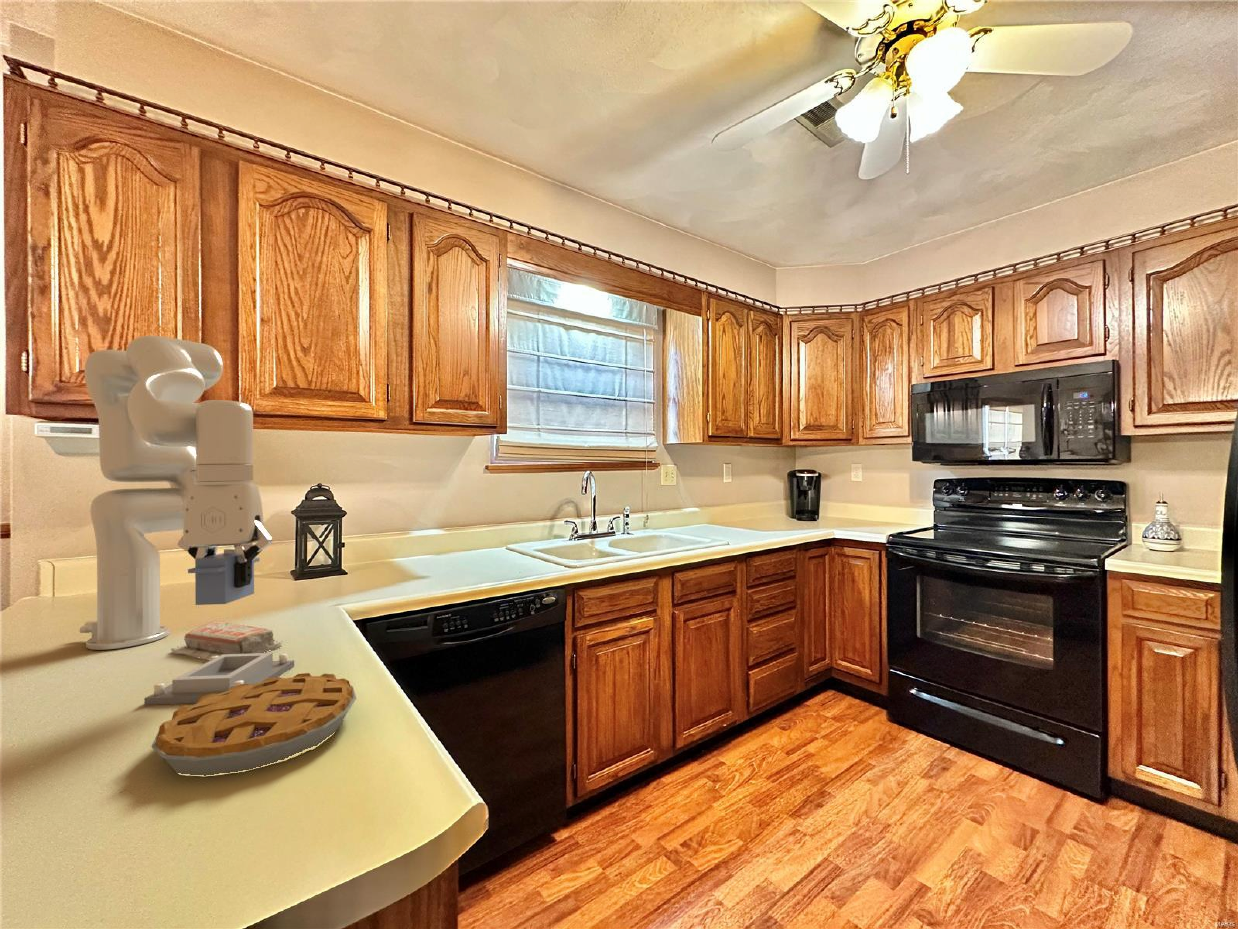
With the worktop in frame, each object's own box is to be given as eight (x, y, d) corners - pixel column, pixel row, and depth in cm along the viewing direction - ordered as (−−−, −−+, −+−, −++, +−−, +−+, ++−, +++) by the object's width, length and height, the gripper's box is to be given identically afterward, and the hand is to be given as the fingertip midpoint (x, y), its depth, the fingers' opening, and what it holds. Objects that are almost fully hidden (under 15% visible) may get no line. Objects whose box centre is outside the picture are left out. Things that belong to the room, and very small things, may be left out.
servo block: (188, 607, 79) (187, 555, 79) (232, 592, 89) (232, 546, 89) (218, 606, 79) (218, 554, 79) (259, 591, 89) (259, 545, 89)
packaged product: (284, 624, 102) (231, 640, 93) (284, 649, 102) (231, 667, 93) (225, 616, 108) (169, 630, 99) (225, 639, 108) (170, 655, 99)
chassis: (144, 705, 77) (144, 684, 77) (212, 668, 91) (212, 651, 91) (241, 701, 78) (241, 681, 78) (294, 666, 92) (294, 649, 92)
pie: (113, 808, 53) (113, 760, 53) (191, 717, 73) (191, 682, 73) (350, 759, 62) (349, 718, 62) (361, 689, 82) (361, 658, 82)
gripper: (152, 477, 80) (152, 593, 80) (264, 475, 81) (265, 590, 81) (189, 476, 88) (189, 583, 87) (291, 474, 89) (292, 580, 89)
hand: (226, 585), depth 84 cm, fingers closed on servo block, 4 cm apart
